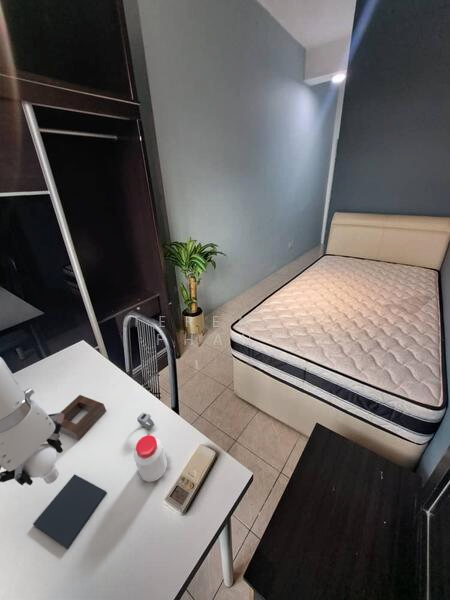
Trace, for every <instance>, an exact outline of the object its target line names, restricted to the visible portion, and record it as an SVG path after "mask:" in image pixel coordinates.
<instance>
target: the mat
mask: <svg viewBox="0 0 450 600" xmlns="http://www.w3.org/2000/svg"><path fill="white" fill-rule="evenodd" d="M107 494H108V492H107V491H106V490H105V489H103V488H101V487H99V486H98V485H96V484H93V483H92V482H90V481H88V480H86V479H84V478H83V477H80V476H79V475H77V474H73V475H72V477H71V478H70V479H69V480H68V481H67V483H66V484H65V485H64V486H63V487H62V488H61V489H60V490H59V492H58V493H57V494H56V496H55V497H54V498H53V499H52V500H51V501H50V503H49V504H48V505H47V506H46V508H44V510H42V512H41V513H40V514H39V516H38V517H37V518H36V519H35V521H34V522H33V523H32V525H33V526H34V528H37V529H38V530H39V531H41V532H42V533H44V534H46V535H47V536H48V537H50V538H51V539H53V540H54V541H55V542H57V543H58V544H59V545H61V546H63V547H64V548H65V549H67V550H69V549H70V548H71V546H72V544H73V543H74V542H75V540H76V539H77V537H78V536H79V534H80V533H81V532H82V530H83V528H85V526H86V524H87V523H88V521H89V520H90V519H91V517H92V516H93V514H94V513H95V511H96V510H97V509H98V507H99V505H100V504H101V503H102V501H103V500H104V498H105V497H106V495H107Z"/></svg>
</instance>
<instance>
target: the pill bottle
mask: <svg viewBox="0 0 450 600" xmlns="http://www.w3.org/2000/svg"><path fill="white" fill-rule="evenodd" d="M133 460H134V462H135V465H136V467H137V471H138V473H139V475H140V477H141V479H142V480H143V481H145V482H149V483H150V482H151V483H152V482H155V481H158V480H159V479H160V478H161V477H162V476H163V475H164V474H165V473H166V471H167V466H168V460H167V457H166V453H165V450H164V447H163V443H162V441H161V440H160V439H159V438H158V437H155V436H153V435H151V434H148V435H144V436H142V437H141V438H140V439H138V441H137V442H136V445H135V448H134V451H133Z"/></svg>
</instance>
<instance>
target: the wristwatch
mask: <svg viewBox="0 0 450 600" xmlns="http://www.w3.org/2000/svg"><path fill="white" fill-rule="evenodd" d="M151 417H152V415H150V414H148V413H146V412H142V413H141V414H140V415H139V416H138V417H137V422H138V423H139V424H140V425H141V427H143V428H145V429H147V430H152V429H153V428H154V427H155V422H154V421H153V420H152V419H151Z"/></svg>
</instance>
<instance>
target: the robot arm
mask: <svg viewBox="0 0 450 600" xmlns="http://www.w3.org/2000/svg"><path fill="white" fill-rule="evenodd" d="M33 394H35V391H34V389H32V388H31V387H29V388H28V389H26V390H23V388H22V387H21V385H20V384H19V382H18V380H17V379H16V377H15V375H14V374H13V372H12V370H11V369H10V368H9V367H8V365H7V363H6V361H5V360H4V358H3V357H1V356H0V470H1V469H4V471H0V483H5V482H9V481H11V480H15V481H16V482H17V483H18V484H19V485H20V486H24V484H26V485H28V486H32V485H33V483H34V481H33V478H31V477H29V476H28V474H27V473H26V472H24V471H22V463H23V462H24V461H25V460H26V459H27V458H28V457H29V456H30V455H31V454H33V453H34V452H35V451H36V450H37V449H38V448H39V447H40V446H41V445H42V444H45V443H46V444H50V445H52V446H54V447H55V449H56V451H57V453H58V454H61V453H63V452H64V449H63V448H62V445H63V443H62V441H61V440H60V436H61V434H60V433H61V432H60V429H61V426H62V425H61V423H62V421H63V418H64V414H62V413H60V412H55V413H49V414H48V413H47V412H46V411H45V410H44V409H43V408H42V407H41V406H40V405H39V404H38V403H37V402H36V401H34V400H33V399H32V398H31V397H32V395H33ZM53 421H54V423H53Z"/></svg>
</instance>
